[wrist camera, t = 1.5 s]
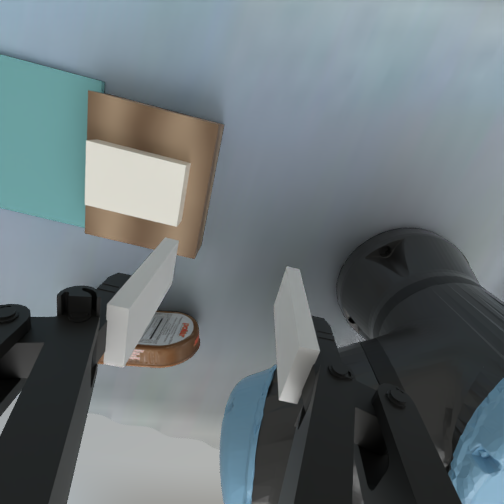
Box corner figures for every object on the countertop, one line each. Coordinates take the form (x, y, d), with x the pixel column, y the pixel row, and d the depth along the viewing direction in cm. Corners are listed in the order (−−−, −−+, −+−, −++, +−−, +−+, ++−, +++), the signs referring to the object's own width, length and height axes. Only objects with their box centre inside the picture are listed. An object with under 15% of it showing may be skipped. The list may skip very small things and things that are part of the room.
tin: (98, 321, 42) (60, 366, 34) (94, 302, 41) (54, 344, 33) (205, 327, 42) (192, 374, 34) (205, 308, 40) (191, 352, 33)
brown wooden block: (224, 124, 31) (219, 124, 28) (201, 245, 37) (194, 258, 33) (109, 94, 30) (88, 90, 27) (103, 222, 36) (84, 233, 32)
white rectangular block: (190, 163, 29) (185, 165, 27) (181, 220, 31) (176, 226, 29) (97, 139, 28) (86, 140, 27) (95, 199, 31) (84, 204, 29)
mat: (104, 82, 30) (101, 81, 30) (98, 228, 36) (96, 230, 36) (-82, 32, 29) (-89, 30, 28) (-56, 192, 35) (-61, 193, 35)
